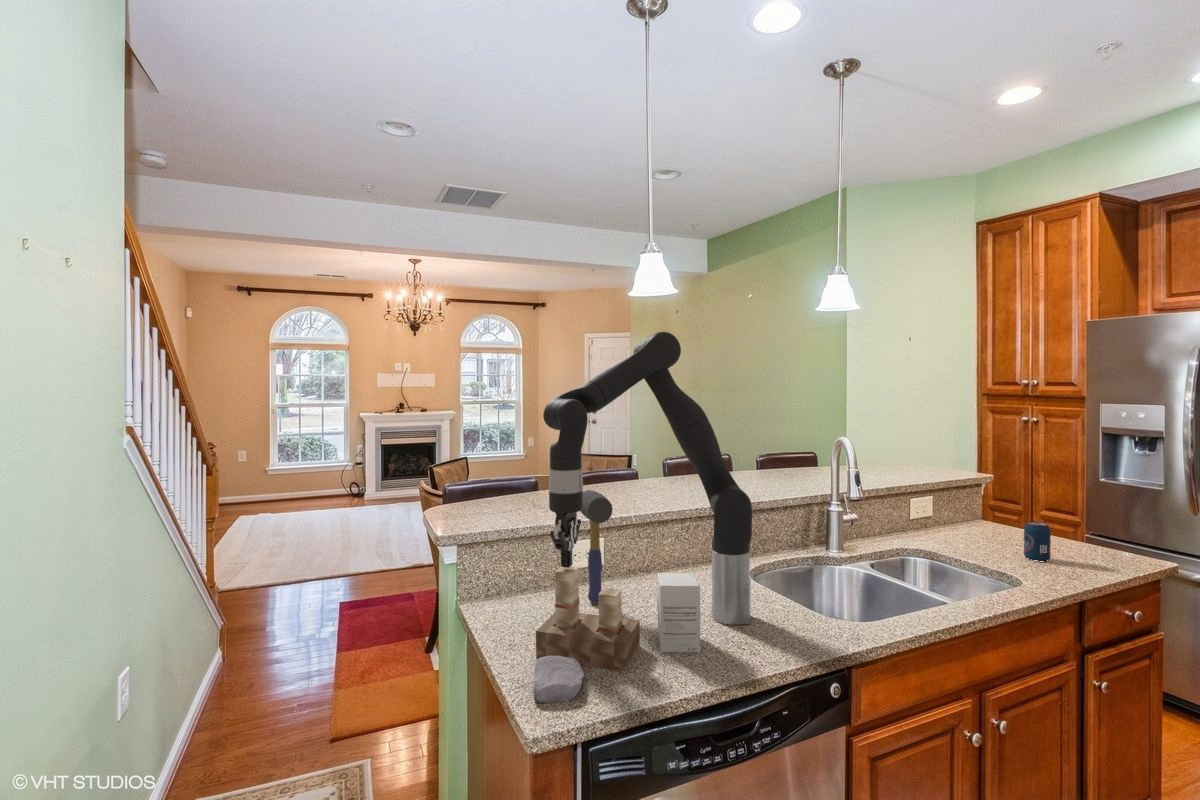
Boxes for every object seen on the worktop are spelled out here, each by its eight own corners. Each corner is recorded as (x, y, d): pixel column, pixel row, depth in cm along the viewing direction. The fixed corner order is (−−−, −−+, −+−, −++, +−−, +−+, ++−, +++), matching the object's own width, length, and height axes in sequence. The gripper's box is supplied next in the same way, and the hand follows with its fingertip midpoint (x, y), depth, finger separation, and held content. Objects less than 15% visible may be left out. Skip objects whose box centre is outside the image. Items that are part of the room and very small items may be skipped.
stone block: (578, 679, 120) (531, 672, 119) (583, 656, 120) (535, 650, 119) (582, 713, 108) (529, 706, 107) (587, 688, 108) (534, 681, 107)
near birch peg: (622, 647, 127) (621, 589, 127) (617, 656, 123) (616, 596, 123) (604, 645, 129) (603, 587, 128) (598, 653, 125) (597, 594, 124)
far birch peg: (579, 624, 130) (579, 567, 130) (573, 632, 127) (572, 573, 126) (562, 622, 132) (561, 565, 131) (555, 629, 128) (554, 571, 127)
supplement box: (657, 635, 136) (656, 571, 136) (695, 635, 136) (695, 571, 136) (659, 653, 127) (659, 585, 127) (700, 653, 127) (700, 585, 126)
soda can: (1019, 556, 194) (1019, 520, 194) (1042, 556, 193) (1042, 521, 193) (1031, 562, 187) (1032, 525, 187) (1055, 563, 186) (1055, 526, 186)
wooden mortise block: (639, 646, 130) (639, 620, 130) (625, 671, 119) (625, 643, 119) (557, 635, 137) (557, 610, 136) (536, 658, 125) (535, 630, 125)
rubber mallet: (615, 609, 152) (614, 495, 151) (588, 612, 150) (586, 497, 149) (602, 593, 164) (600, 487, 163) (576, 596, 162) (575, 489, 161)
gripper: (570, 495, 121) (571, 577, 121) (591, 484, 133) (592, 559, 134) (538, 493, 123) (539, 574, 124) (561, 483, 136) (562, 556, 136)
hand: (566, 566), depth 129 cm, fingers closed
